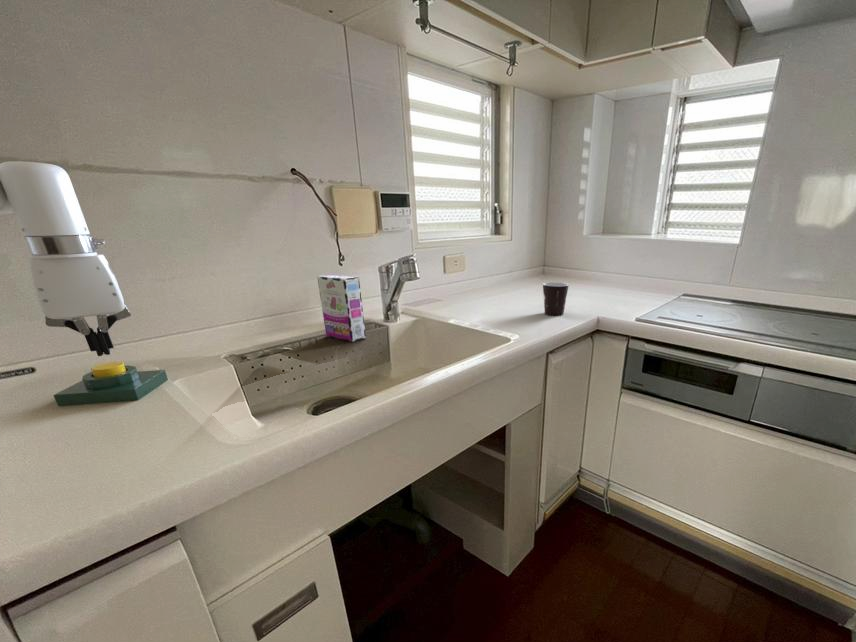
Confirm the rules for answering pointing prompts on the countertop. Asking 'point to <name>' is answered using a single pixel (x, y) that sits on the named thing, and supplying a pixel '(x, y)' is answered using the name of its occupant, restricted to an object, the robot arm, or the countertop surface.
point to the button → (108, 369)
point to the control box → (111, 387)
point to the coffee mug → (555, 298)
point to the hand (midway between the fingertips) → (104, 353)
